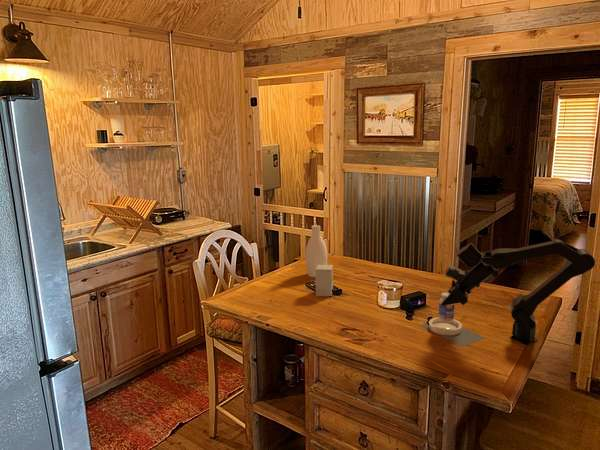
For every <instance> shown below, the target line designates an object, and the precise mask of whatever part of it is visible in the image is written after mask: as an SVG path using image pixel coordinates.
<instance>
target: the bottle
mask: <svg viewBox="0 0 600 450" xmlns="http://www.w3.org/2000/svg"><path fill="white" fill-rule="evenodd" d="M304 255H305V266H306V271H307V275H308V276H309V277H310V278H315V279H316V267H317V265H328V248H327V245H326V242H325V241H324V239H323V237H322V234H321V225H318V224H316V225H314V224H313V225H311V236H310V238H309V239H308V241H307V244H306V247H305V254H304Z"/></svg>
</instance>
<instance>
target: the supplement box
mask: <svg viewBox="0 0 600 450" xmlns="http://www.w3.org/2000/svg"><path fill="white" fill-rule="evenodd" d="M333 268H334V265H333V264H327V265H317V267H316V278H315V297H329V296H331V297H333V296H332V295H333V292H332V289H333V290H334V269H333Z"/></svg>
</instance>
